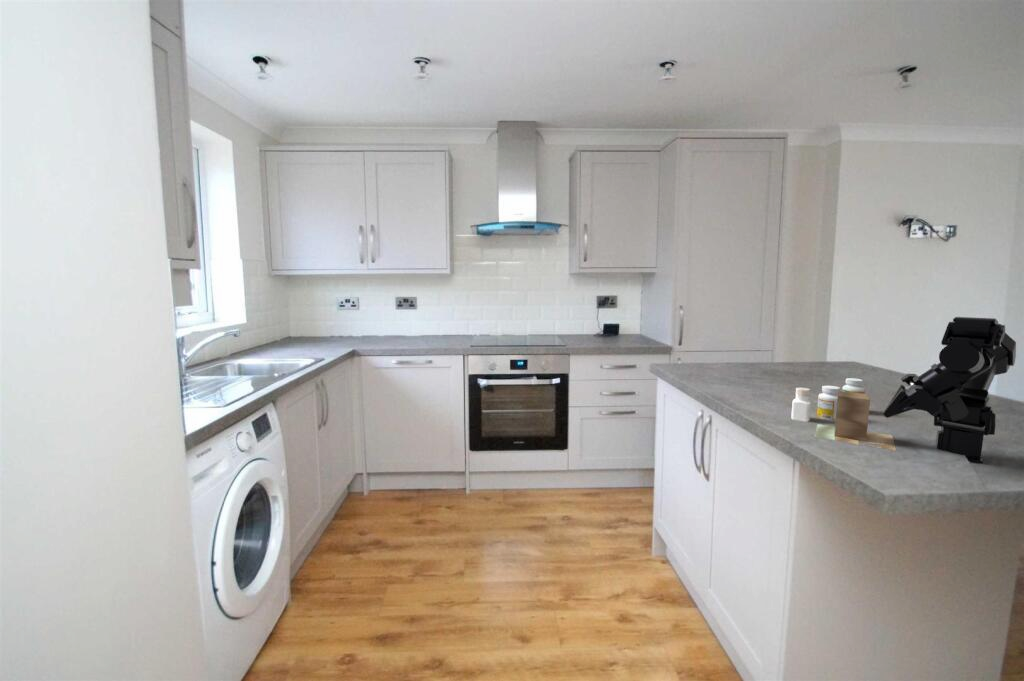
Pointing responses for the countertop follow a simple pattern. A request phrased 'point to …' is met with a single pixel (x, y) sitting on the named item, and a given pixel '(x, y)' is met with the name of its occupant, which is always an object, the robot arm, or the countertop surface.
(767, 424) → the countertop surface
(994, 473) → the countertop surface
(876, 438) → the trap board
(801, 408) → the white square pill bottle
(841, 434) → the walnut block
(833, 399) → the supplement bottle
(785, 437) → the countertop surface
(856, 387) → the supplement bottle
